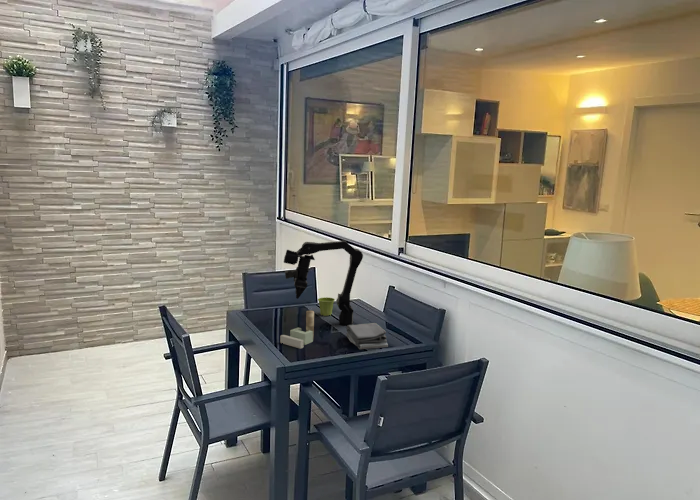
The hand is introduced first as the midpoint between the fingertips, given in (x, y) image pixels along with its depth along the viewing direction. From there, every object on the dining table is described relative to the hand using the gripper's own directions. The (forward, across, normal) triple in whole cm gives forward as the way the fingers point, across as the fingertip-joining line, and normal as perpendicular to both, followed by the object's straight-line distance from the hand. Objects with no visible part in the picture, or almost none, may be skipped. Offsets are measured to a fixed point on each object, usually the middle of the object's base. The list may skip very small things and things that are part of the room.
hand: (296, 296), depth 256 cm
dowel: (+14, +22, +8) cm, 27 cm away
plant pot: (+11, -18, +20) cm, 29 cm away
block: (+14, +26, +4) cm, 30 cm away
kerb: (+15, +31, 0) cm, 35 cm away
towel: (+9, +29, +34) cm, 46 cm away
